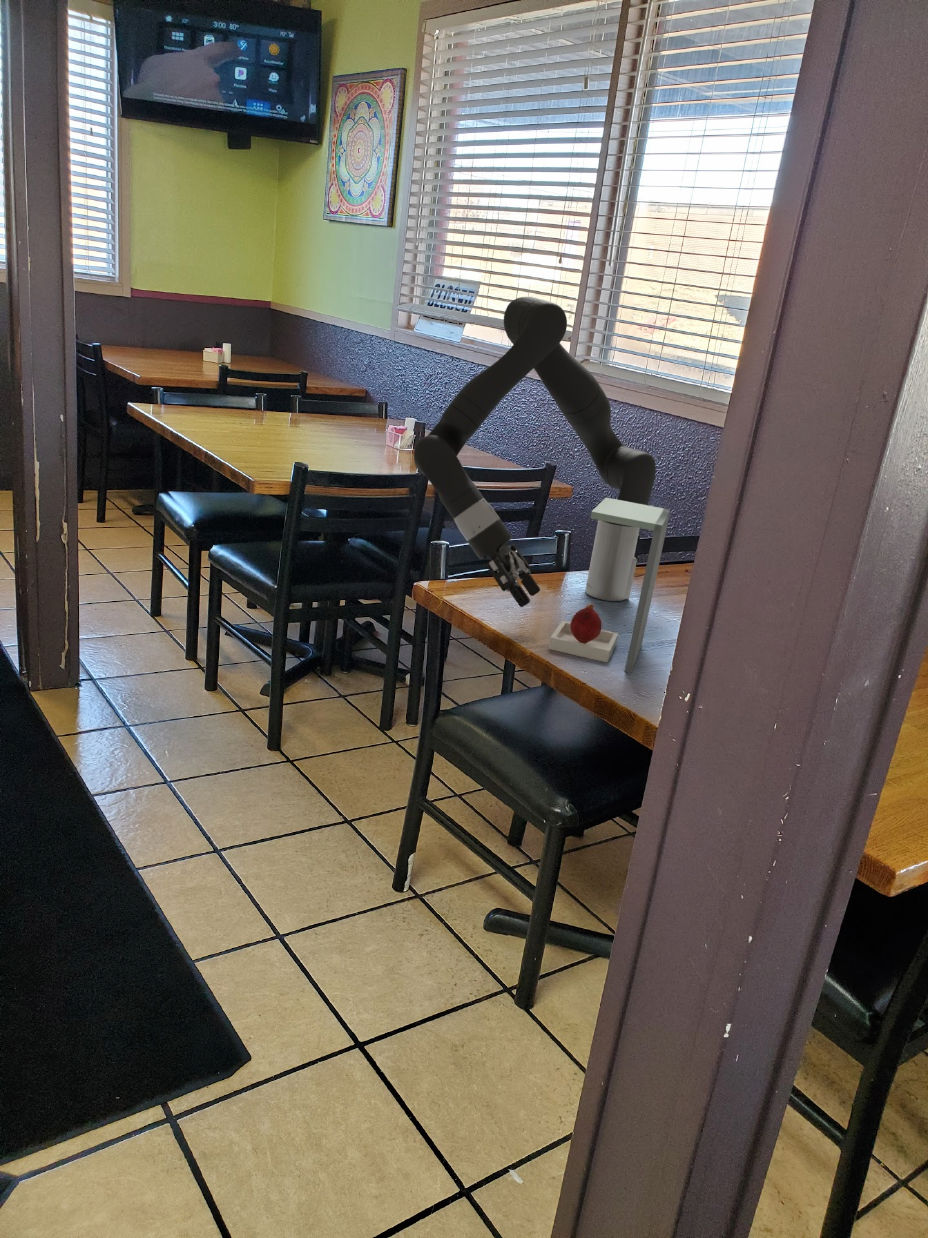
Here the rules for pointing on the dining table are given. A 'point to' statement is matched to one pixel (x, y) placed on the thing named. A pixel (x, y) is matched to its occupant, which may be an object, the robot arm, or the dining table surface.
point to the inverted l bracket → (658, 523)
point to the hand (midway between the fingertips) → (531, 598)
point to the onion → (586, 624)
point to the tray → (593, 649)
